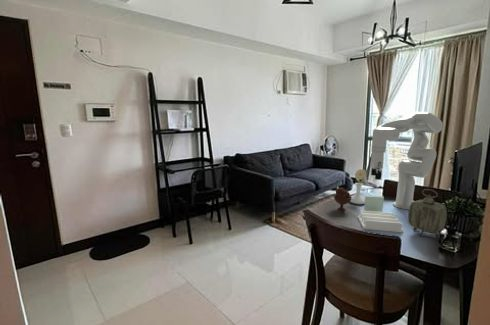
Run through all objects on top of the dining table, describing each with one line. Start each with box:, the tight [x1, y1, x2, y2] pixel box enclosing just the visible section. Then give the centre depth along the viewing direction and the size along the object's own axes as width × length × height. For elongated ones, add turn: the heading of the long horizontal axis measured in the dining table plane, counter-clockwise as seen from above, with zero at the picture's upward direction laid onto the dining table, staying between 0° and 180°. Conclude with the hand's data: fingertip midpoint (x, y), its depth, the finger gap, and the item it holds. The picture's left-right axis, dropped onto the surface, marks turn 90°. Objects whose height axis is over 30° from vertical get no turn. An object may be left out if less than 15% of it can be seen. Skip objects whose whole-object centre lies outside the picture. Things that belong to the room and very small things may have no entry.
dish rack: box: [357, 209, 404, 233], centre depth 149 cm, size 20×15×5 cm
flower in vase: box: [349, 168, 367, 205], centre depth 182 cm, size 13×11×25 cm
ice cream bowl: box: [333, 187, 352, 213], centre depth 170 cm, size 11×11×15 cm
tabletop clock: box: [407, 188, 448, 239], centre depth 134 cm, size 14×9×25 cm, turn 33°
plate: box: [363, 194, 385, 212], centre depth 163 cm, size 10×2×12 cm, turn 77°
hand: (375, 177), depth 159 cm, fingers open, 9 cm apart
